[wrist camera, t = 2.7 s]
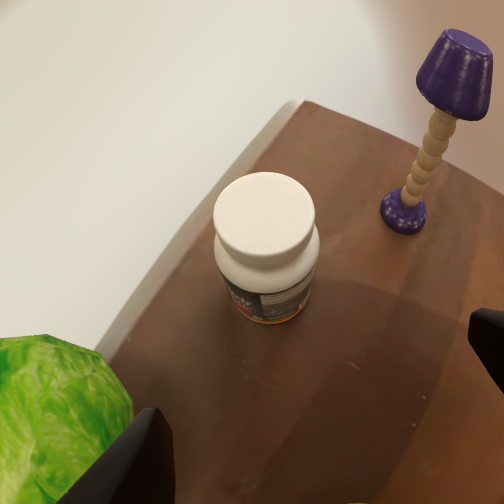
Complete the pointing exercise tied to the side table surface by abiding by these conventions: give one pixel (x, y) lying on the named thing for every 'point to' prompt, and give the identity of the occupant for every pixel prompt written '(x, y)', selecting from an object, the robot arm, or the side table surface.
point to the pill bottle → (266, 245)
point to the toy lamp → (442, 117)
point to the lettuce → (54, 416)
